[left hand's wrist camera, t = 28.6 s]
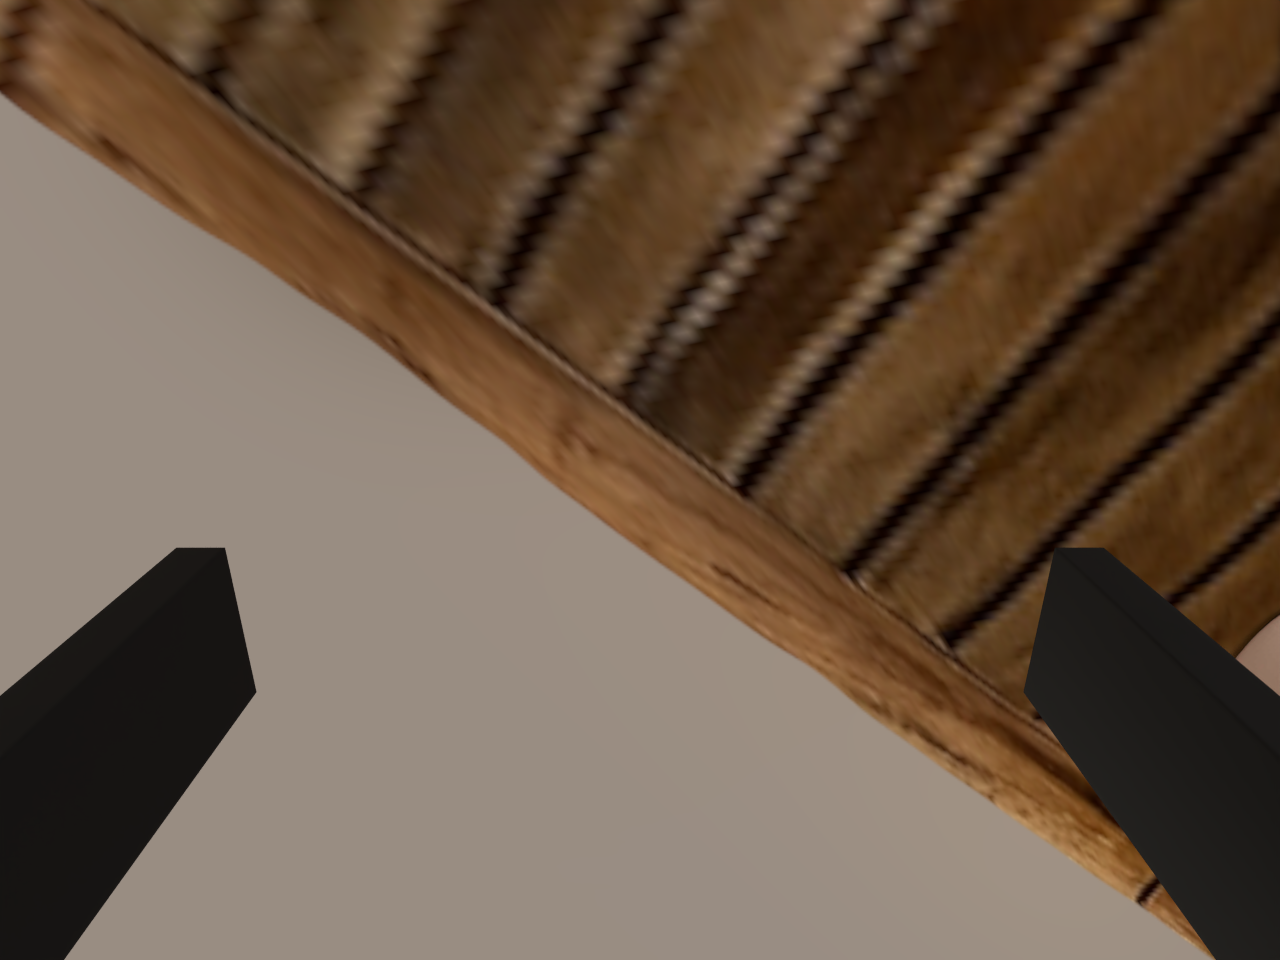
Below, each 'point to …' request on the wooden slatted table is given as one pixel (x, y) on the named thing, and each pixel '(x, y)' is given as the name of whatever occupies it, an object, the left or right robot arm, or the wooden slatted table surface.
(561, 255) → the wooden slatted table surface
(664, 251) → the wooden slatted table surface
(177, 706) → the left robot arm
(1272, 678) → the anatomical model
